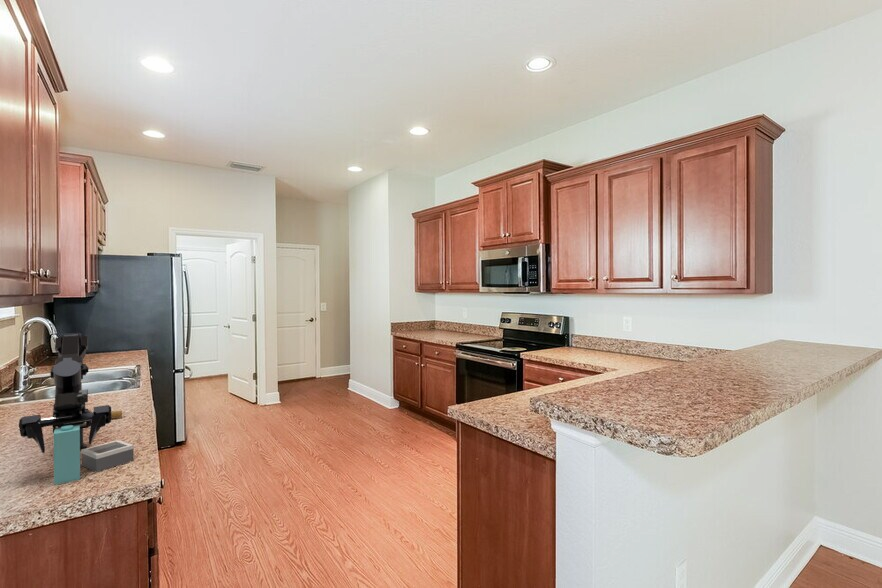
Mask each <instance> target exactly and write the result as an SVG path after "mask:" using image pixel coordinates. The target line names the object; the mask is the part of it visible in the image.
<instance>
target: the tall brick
mask: <svg viewBox="0 0 882 588" xmlns="http://www.w3.org/2000/svg"><path fill="white" fill-rule="evenodd" d="M52 437H53V486H57V485H56V484H58V485H61V484H60V483H63V484H67V483H72V482H76V481H75V480H77V481H80V480H81V449H80V425H79V426H73V425H67V426H63V427H61V428H60V429H55V430H54V433H53V435H52ZM71 481H72V482H71ZM66 482H67V483H66Z"/></svg>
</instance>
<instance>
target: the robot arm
mask: <svg viewBox="0 0 882 588" xmlns="http://www.w3.org/2000/svg"><path fill="white" fill-rule="evenodd" d="M54 349H55V350H54V351H55V352H56V353H57V355H58V358H56V359H55V361H54V365H53V366H51V368H50V373H49V374H50V375H49V376H50V379H53V380H54V381H53V382H54V386H55V388H54V389H55V390H54V392H55V393H54V403H53V407H52V417H47V418H42V417H41V414H33V415H27V416H22V417H21V418H20V419H19V420H18V421H19V422H18V427H19V429H18V430H19V433H20V437H22V438H25V437H26V438H27V439H33V440H34V442H35V443H36V444H37V446H38V447H39V449H40V451H41V453H42V454H45V452H46V447H45V440H44V433H43V428H44V427H45V428H46V427H51V426H52V433H53V434H54V430H55V429H60V428H61V427H63V426H67V425H73V426H79V425H80V450H82V449H86V448H88V446H87V444H85V442H84V429H88V428H90V429H89V435H88V445H89V446H90V445H92V443H93V441H94V439H95V437H96V435H97V433H98V432H99V430H100V429H101V428H103V427H106V426H107V424H111V423H112V418H111V412H112V406H111V405H109V404H107V405H106V404H105V405H100V406H99V405H98V406H93V411H92V413H91V412H89V410H90V409H89V408H86V403H88V402H89V391H88V390H89V389H83V385H82V380H83V379H84V376H87V375H88V373H89V366H88V365H86V363H84V360H83V359H84V358H85V357H86V351H87V350H89V337H88V336H87V335H84V334H82V333H80V332H69V333H61V334H60V336H58V337H56V338H54ZM91 420H92V421H91ZM85 422H86V423H85Z"/></svg>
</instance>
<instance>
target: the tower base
mask: <svg viewBox="0 0 882 588" xmlns="http://www.w3.org/2000/svg"><path fill="white" fill-rule="evenodd" d="M134 450H135V449H134V444H131V443H128V442H126V441H122V440H120V439H117V440H113V441H108V442H106V443H102V444H97V445H94V446H90V447H87V448H84V449H80V463H81V467H83V466H84V468H85V469H88V468H89V470H90V469H91V471H94V472H95V471H96V472H95V473H99V472H101V470H102V471H104V469H105V470H108V469H110V468H114V466H115V467H117V465H118V466H120V464H121V465H123V463H124V464H127V462H128V463H131V462H134V461H135V460H134V457H135V456H134ZM130 461H131V462H130ZM107 468H108V469H107Z"/></svg>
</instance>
